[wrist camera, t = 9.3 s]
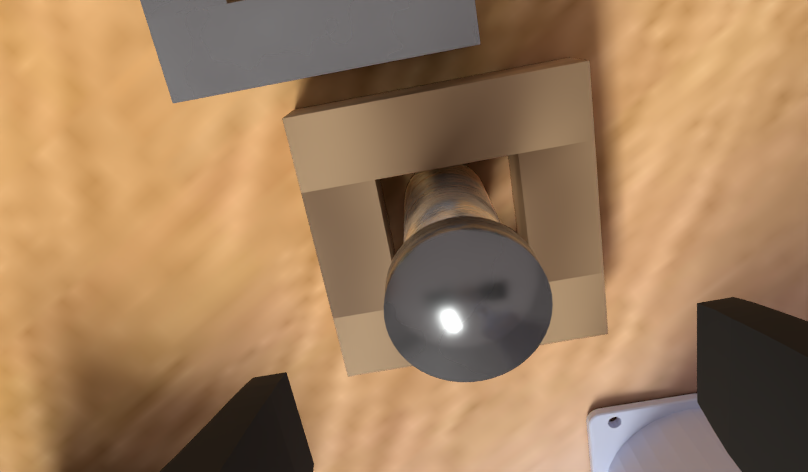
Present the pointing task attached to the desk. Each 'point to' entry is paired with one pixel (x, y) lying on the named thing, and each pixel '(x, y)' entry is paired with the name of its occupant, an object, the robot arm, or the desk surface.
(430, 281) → the lock pin
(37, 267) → the desk surface
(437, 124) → the socket
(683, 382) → the desk surface
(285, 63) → the mount
